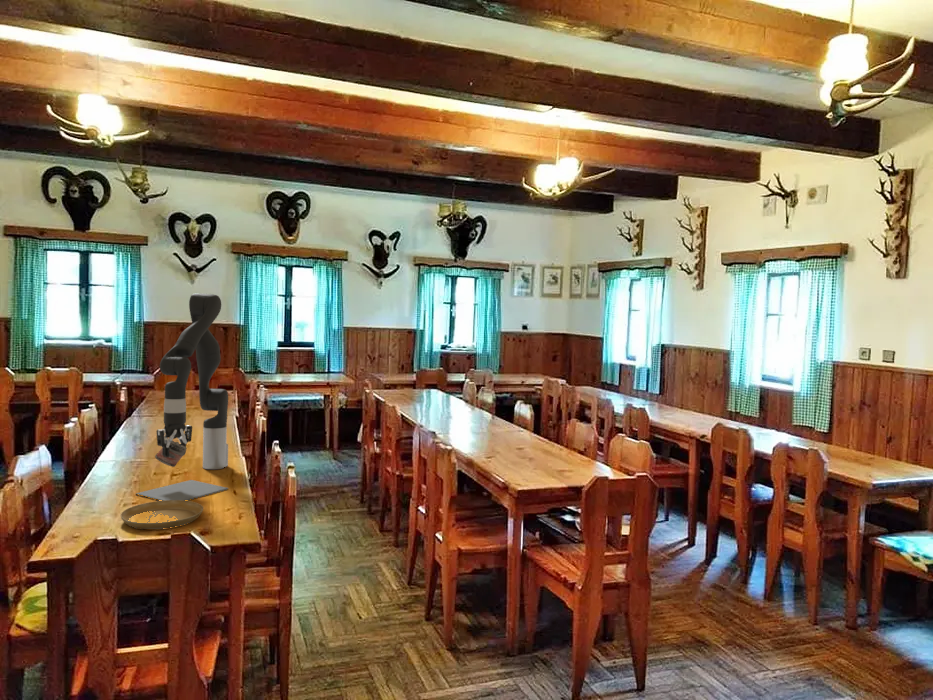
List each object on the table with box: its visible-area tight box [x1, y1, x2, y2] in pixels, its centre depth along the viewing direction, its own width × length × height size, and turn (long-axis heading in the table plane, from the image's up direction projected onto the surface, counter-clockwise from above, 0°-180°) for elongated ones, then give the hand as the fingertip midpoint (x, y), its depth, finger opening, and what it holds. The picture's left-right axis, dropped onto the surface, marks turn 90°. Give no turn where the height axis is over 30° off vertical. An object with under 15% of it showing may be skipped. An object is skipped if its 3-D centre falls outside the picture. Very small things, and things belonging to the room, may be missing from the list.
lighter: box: [154, 440, 187, 468], centre depth 253 cm, size 8×3×10 cm
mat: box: [135, 479, 229, 501], centre depth 251 cm, size 24×20×1 cm
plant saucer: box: [120, 500, 204, 530], centre depth 219 cm, size 24×24×3 cm
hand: (174, 455), depth 253 cm, fingers closed on lighter, 6 cm apart
